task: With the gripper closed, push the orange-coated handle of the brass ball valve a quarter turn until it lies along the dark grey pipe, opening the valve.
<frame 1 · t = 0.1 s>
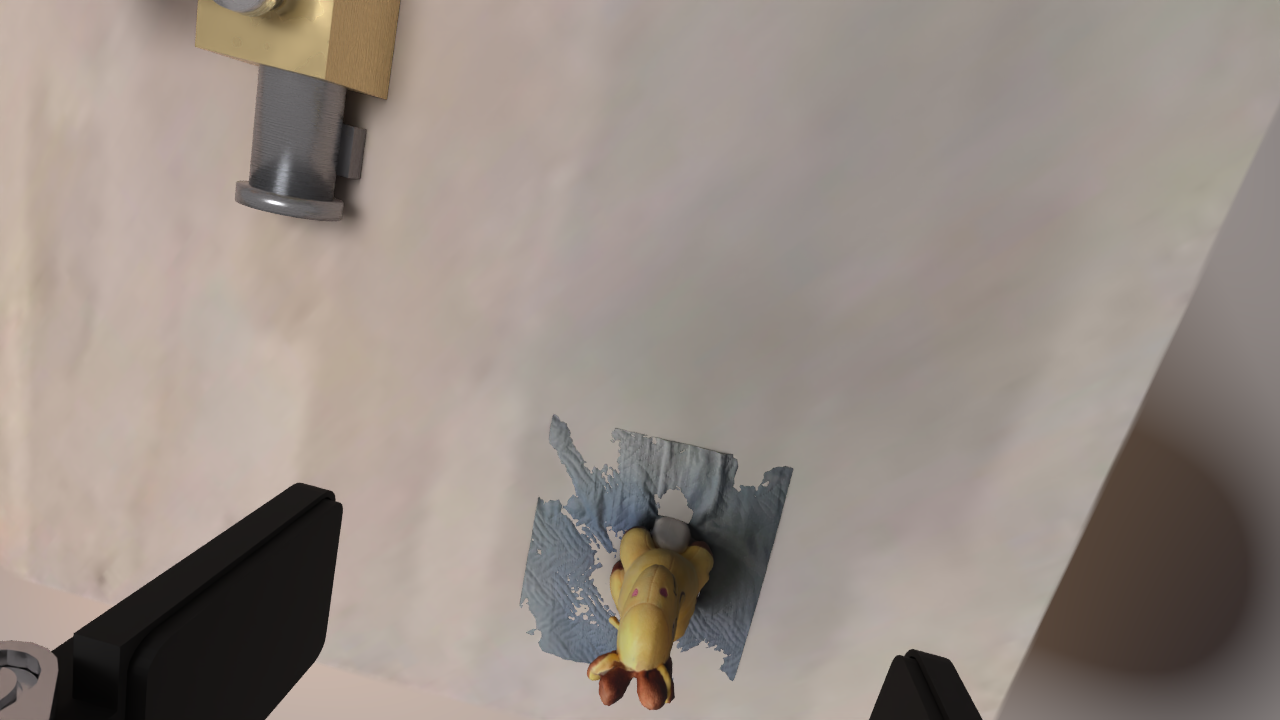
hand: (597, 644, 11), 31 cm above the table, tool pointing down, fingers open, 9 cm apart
stuffed giraffe: (645, 557, 45), on the table
valve pipe: (338, 24, 39), on the table
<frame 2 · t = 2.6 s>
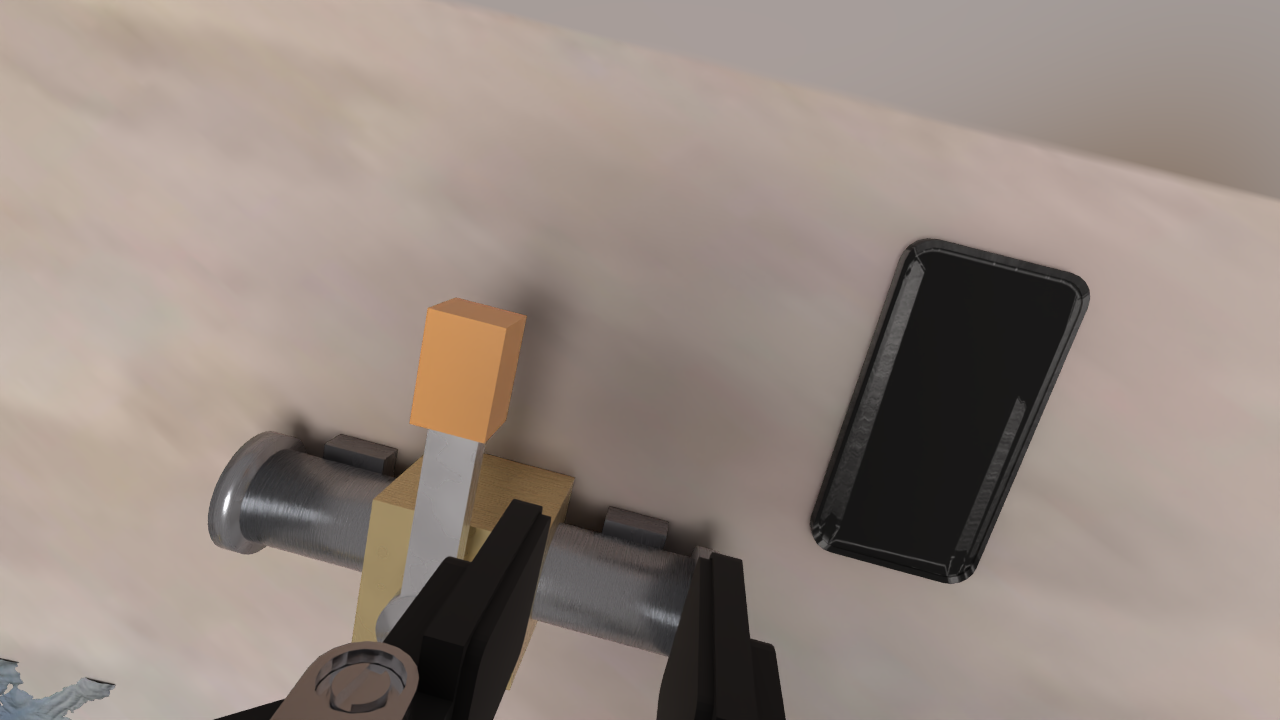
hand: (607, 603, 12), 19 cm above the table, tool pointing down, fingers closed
phone: (933, 413, 30), on the table
valve lever: (446, 499, 24), point 9 cm above the table, hinge at 0.0°
valve pipe: (493, 521, 33), on the table
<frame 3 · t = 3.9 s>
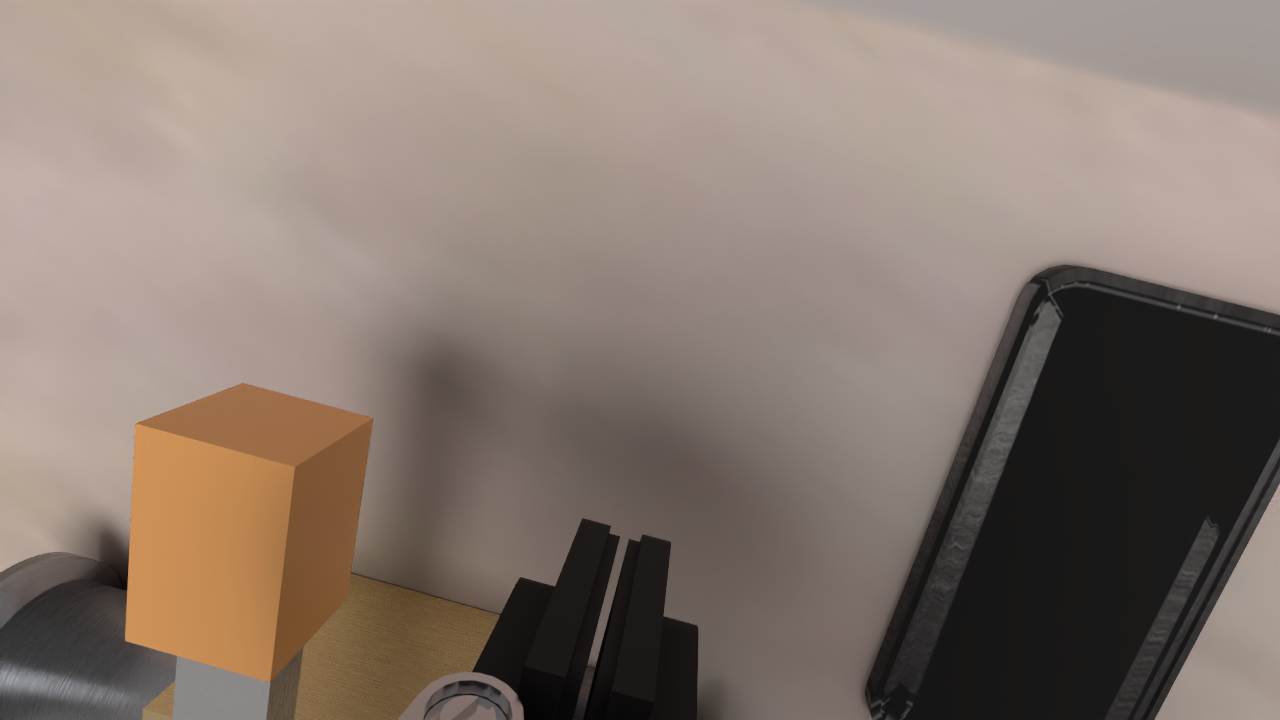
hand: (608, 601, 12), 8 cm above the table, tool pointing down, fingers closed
phone: (1060, 532, 20), on the table
valve pipe: (394, 676, 22), on the table
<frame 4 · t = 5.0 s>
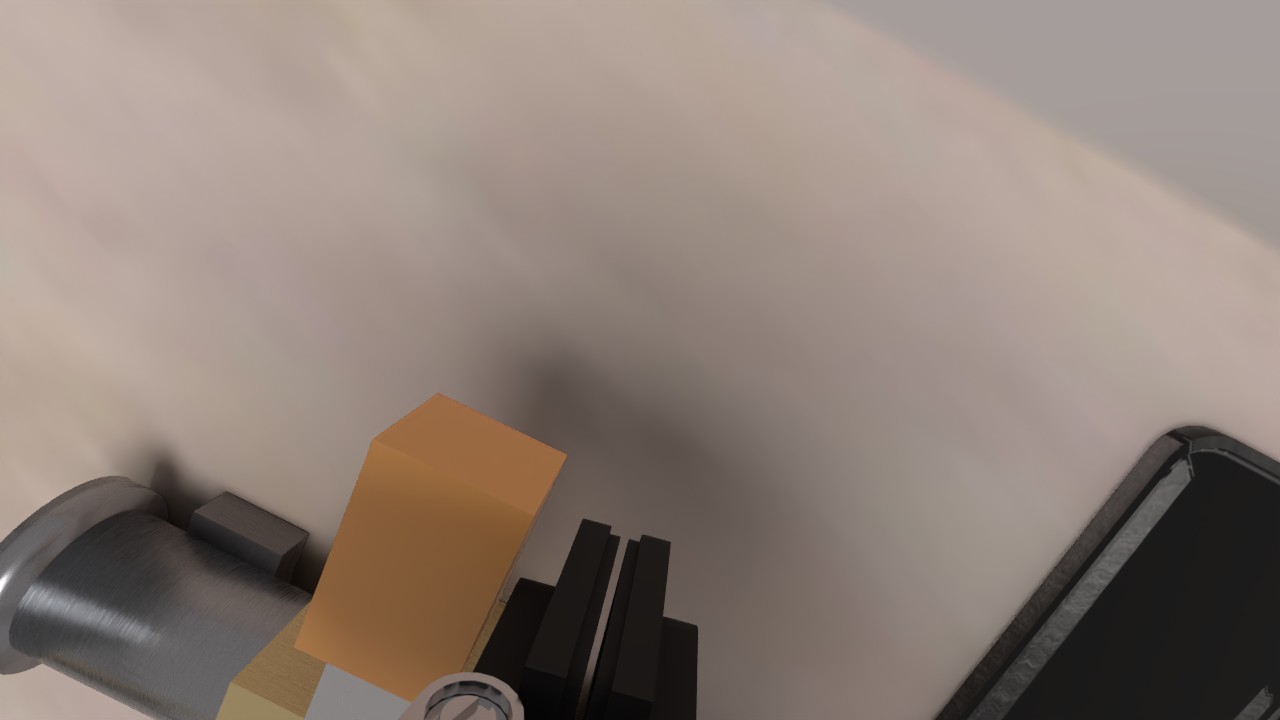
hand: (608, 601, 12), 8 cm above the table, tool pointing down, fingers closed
phone: (1117, 666, 20), on the table
valve pipe: (431, 665, 22), on the table
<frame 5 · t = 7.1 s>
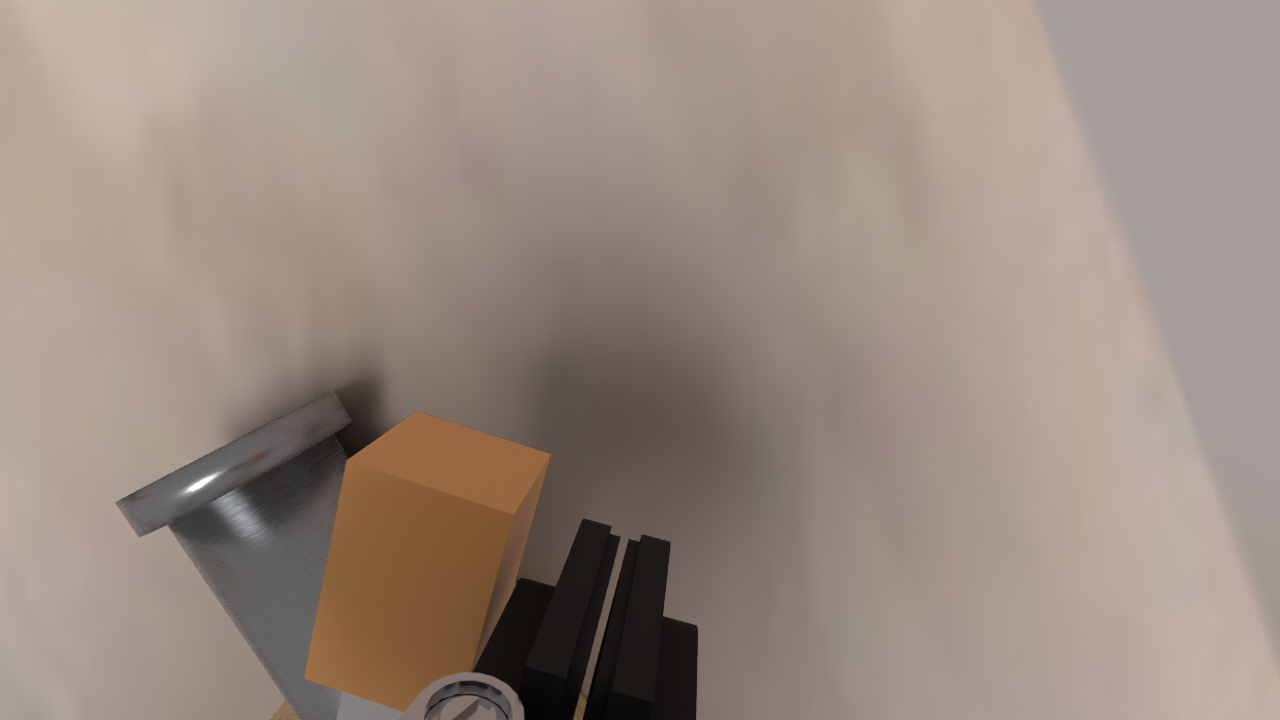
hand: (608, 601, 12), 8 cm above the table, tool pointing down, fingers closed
valve pipe: (471, 691, 22), on the table
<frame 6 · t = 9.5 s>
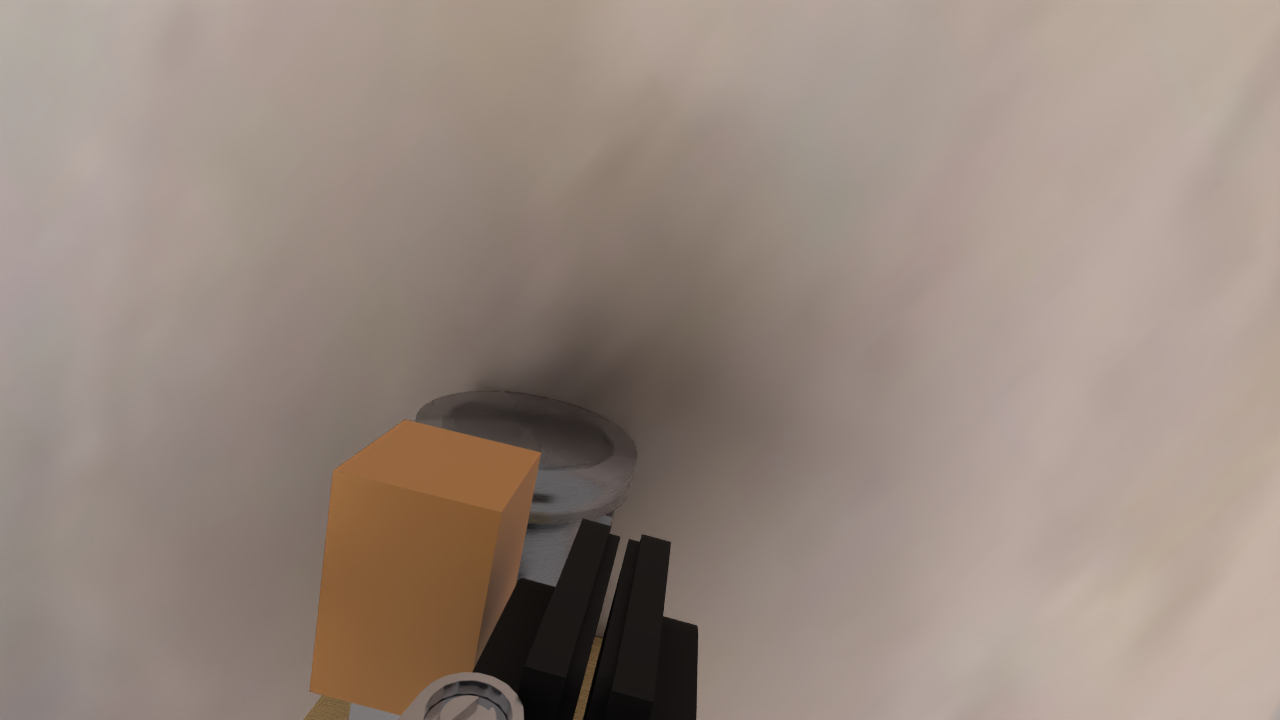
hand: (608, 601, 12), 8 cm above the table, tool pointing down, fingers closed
valve pipe: (492, 701, 22), on the table
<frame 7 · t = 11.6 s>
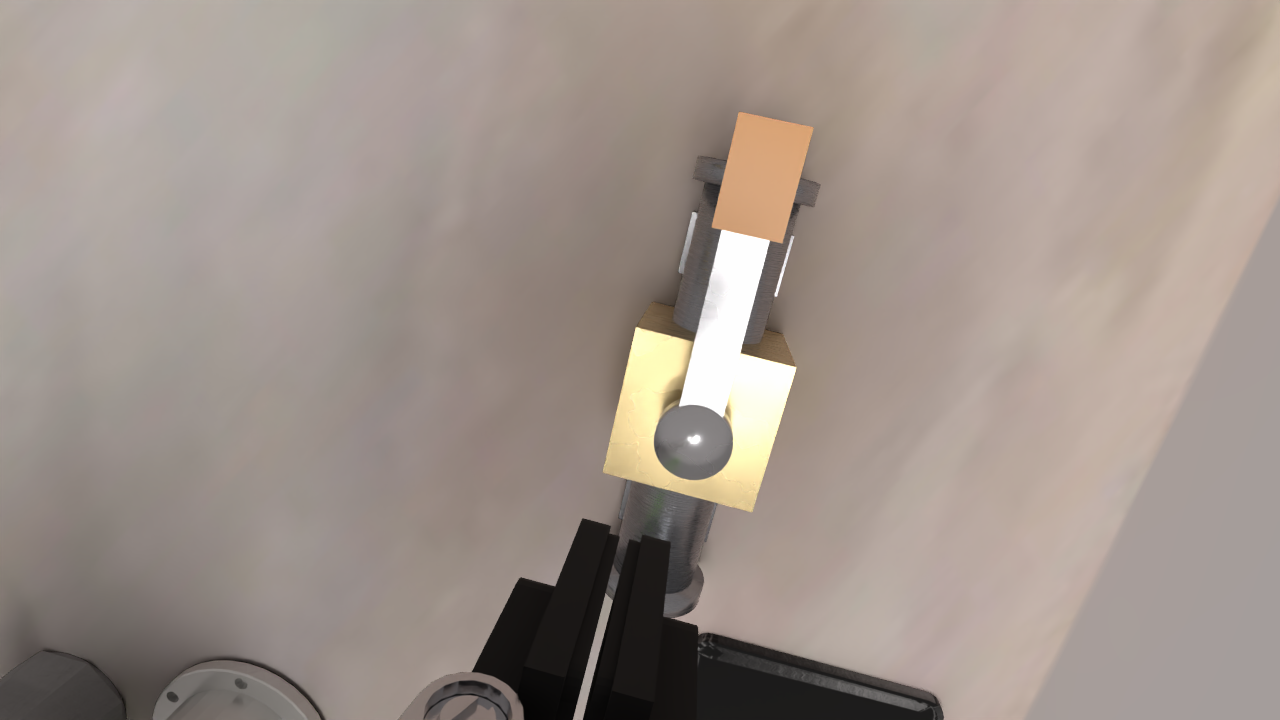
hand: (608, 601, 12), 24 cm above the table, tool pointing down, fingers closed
phone: (798, 708, 40), on the table
valve lever: (725, 311, 25), point 9 cm above the table, hinge at 90.8°
valve pipe: (700, 380, 35), on the table
coffeepot: (68, 688, 47), on the table
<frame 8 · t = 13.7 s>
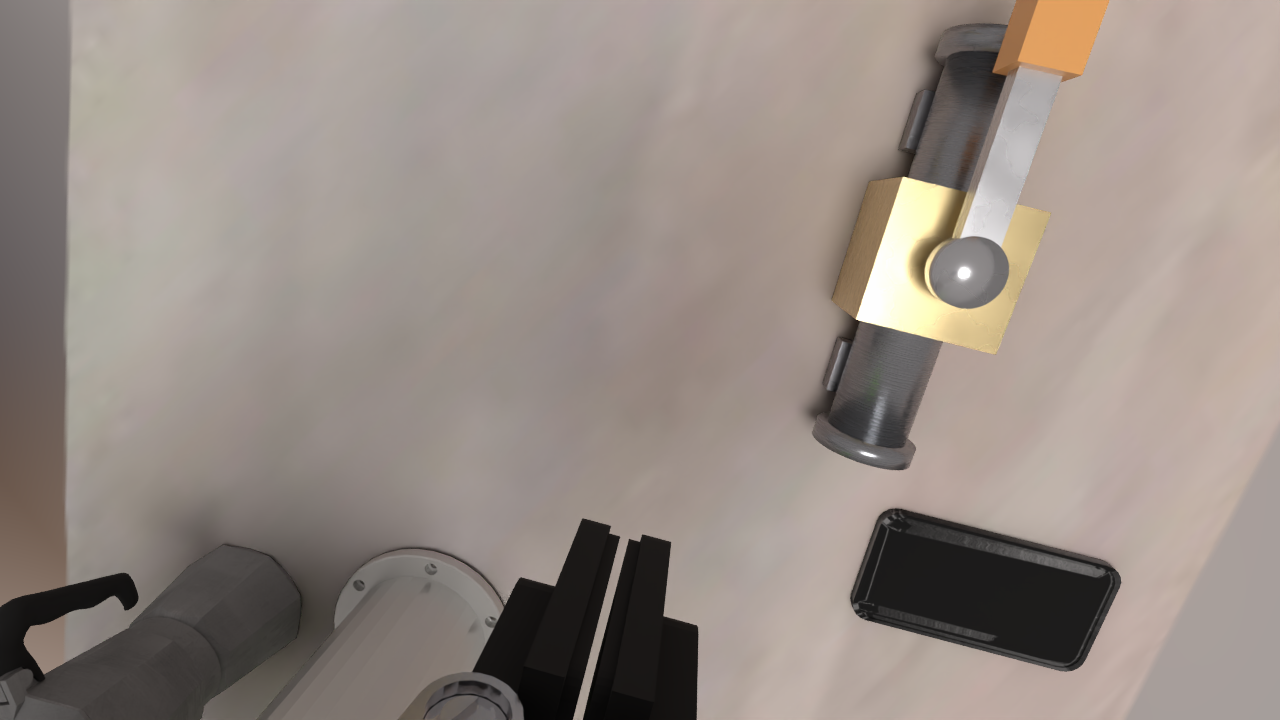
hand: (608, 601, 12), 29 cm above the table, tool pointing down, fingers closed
phone: (975, 583, 43), on the table
valve lever: (1009, 148, 28), point 9 cm above the table, hinge at 90.8°
valve pipe: (909, 257, 38), on the table
coffeepot: (243, 584, 48), on the table
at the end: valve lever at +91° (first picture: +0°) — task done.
